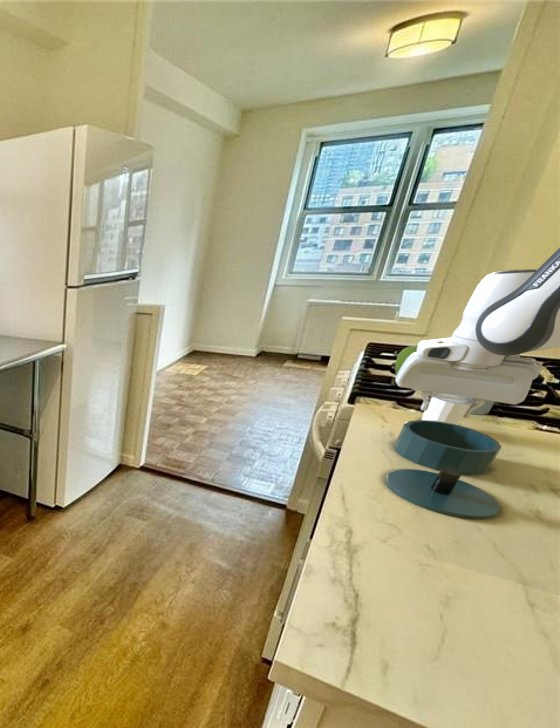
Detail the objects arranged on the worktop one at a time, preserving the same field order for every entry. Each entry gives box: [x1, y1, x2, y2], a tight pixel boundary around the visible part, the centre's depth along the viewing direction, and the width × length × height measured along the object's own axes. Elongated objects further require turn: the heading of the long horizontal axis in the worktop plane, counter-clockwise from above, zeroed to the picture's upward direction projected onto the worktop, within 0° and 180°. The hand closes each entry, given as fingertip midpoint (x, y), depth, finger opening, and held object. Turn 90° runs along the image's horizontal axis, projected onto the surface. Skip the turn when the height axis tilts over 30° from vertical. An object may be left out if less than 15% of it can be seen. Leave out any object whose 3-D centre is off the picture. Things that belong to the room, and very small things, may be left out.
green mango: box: [394, 345, 418, 389], centre depth 126 cm, size 9×8×12 cm
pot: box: [393, 419, 502, 476], centre depth 93 cm, size 14×14×5 cm
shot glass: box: [421, 392, 473, 425], centre depth 106 cm, size 7×7×7 cm
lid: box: [385, 468, 501, 520], centre depth 82 cm, size 15×15×5 cm
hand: (443, 413), depth 106 cm, fingers closed on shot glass, 5 cm apart
